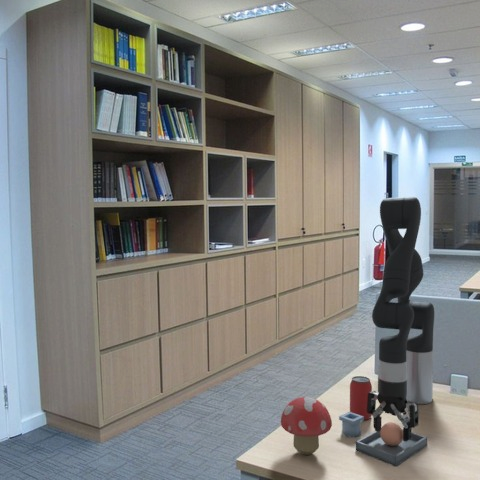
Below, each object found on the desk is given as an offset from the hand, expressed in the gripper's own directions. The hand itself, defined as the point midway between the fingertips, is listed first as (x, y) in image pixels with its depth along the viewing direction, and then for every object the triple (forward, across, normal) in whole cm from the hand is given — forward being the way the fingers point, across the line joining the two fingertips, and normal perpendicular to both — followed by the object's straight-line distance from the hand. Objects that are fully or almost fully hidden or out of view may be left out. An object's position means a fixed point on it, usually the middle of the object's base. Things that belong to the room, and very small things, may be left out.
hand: (391, 435), depth 140 cm
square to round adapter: (+4, +13, 0) cm, 13 cm away
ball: (+3, 0, 0) cm, 3 cm away
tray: (+4, 0, 0) cm, 4 cm away
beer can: (+4, +18, -12) cm, 22 cm away
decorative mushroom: (+4, +14, +19) cm, 24 cm away
